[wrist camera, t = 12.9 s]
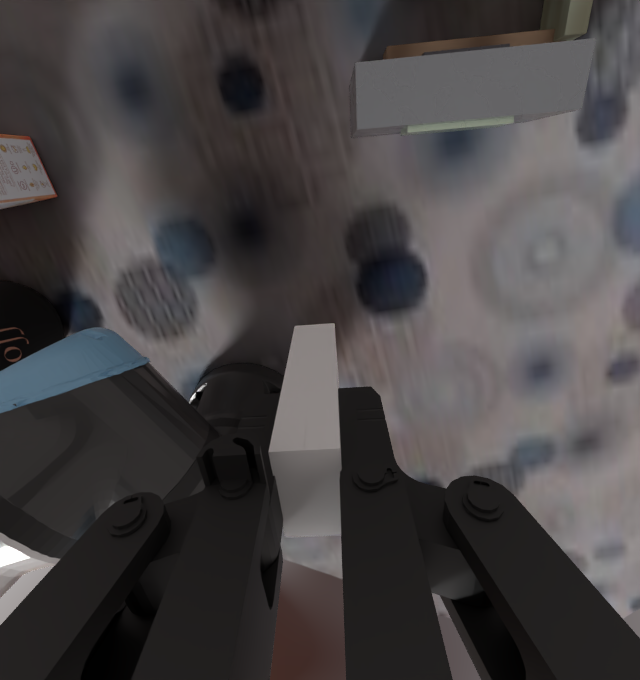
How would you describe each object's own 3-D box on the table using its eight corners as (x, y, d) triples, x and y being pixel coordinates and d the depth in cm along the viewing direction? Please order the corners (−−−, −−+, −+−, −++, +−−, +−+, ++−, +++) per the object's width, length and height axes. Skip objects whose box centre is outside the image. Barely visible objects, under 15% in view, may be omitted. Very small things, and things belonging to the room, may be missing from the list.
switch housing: (351, 142, 33) (357, 135, 26) (349, 79, 31) (355, 53, 24) (524, 127, 33) (580, 115, 25) (534, 61, 30) (598, 28, 23)
